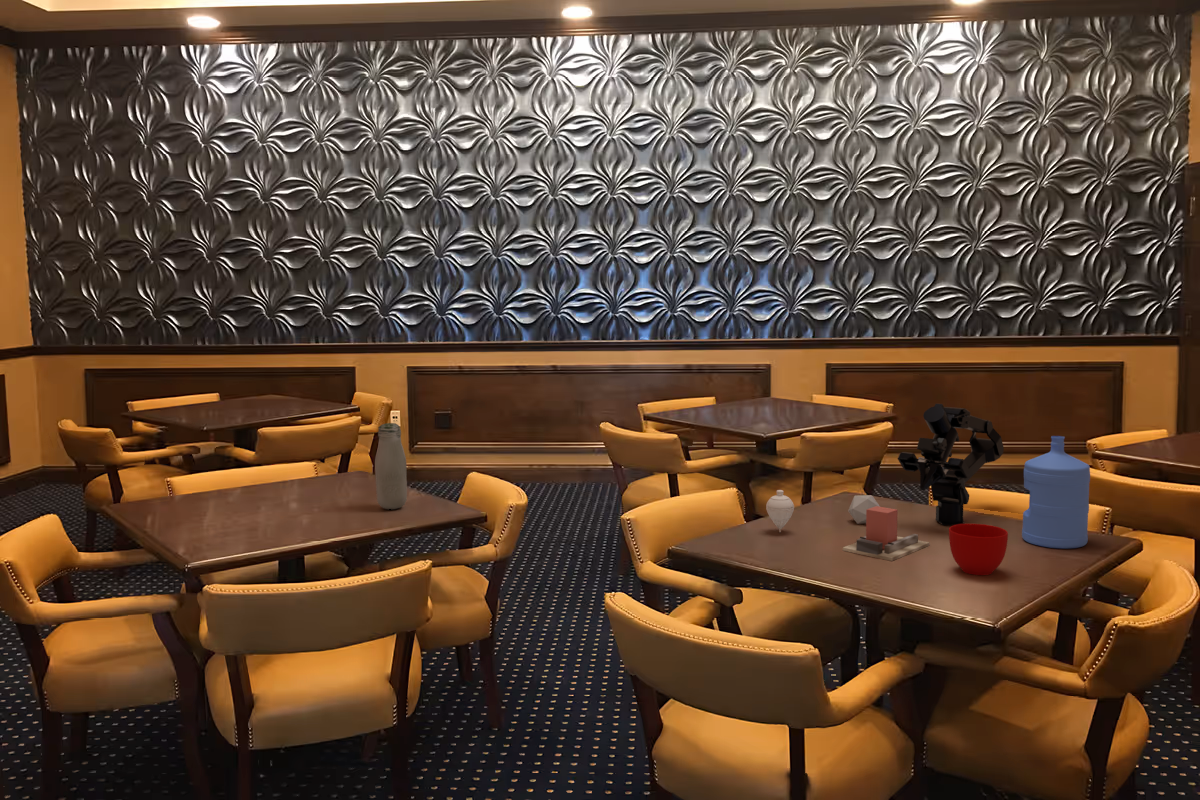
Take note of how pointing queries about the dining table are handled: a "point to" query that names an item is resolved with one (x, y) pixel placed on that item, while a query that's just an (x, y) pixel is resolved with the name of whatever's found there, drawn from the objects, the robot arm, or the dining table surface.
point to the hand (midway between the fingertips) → (922, 489)
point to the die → (861, 507)
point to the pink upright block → (881, 525)
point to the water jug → (1056, 499)
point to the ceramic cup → (978, 547)
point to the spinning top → (780, 509)
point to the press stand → (887, 547)
